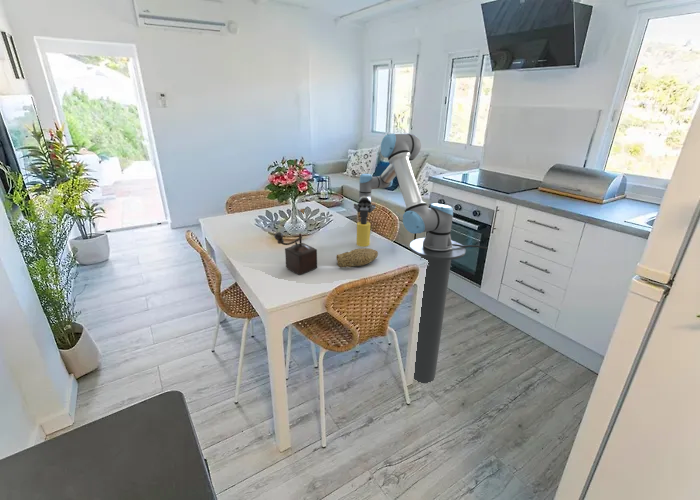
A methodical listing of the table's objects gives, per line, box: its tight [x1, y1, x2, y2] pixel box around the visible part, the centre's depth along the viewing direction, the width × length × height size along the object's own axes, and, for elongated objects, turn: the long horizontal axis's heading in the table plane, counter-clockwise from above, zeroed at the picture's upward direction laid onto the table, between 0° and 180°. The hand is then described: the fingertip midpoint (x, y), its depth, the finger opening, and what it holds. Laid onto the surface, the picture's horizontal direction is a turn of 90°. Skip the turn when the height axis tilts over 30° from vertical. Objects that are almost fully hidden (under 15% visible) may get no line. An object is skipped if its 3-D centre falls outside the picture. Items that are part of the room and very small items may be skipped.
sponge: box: [335, 247, 379, 268], centre depth 162 cm, size 13×8×20 cm
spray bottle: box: [355, 207, 371, 248], centre depth 182 cm, size 7×8×20 cm
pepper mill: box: [273, 231, 318, 276], centre depth 152 cm, size 16×11×18 cm
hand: (364, 214), depth 189 cm, fingers closed
